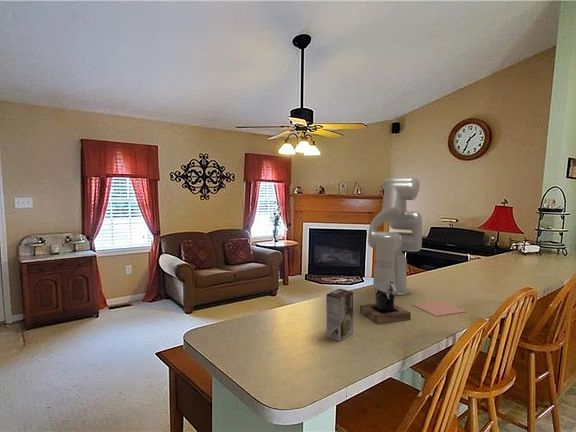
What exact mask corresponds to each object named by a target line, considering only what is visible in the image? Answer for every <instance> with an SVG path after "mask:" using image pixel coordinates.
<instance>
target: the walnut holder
mask: <svg viewBox="0 0 576 432" xmlns="http://www.w3.org/2000/svg"><path fill="white" fill-rule="evenodd" d="M359 313H360V314H362V315H363V316H365V317H367V318H368V319H369V320H371V321H373V322H374V323H376V324H377V325H384V324H389V323H390V324H391V323H398V322H406V321H411V319H412V318H411V317H412V315H411V314H412V313H411V311H408V310H406V309H404V308H402V307H400V306H398V305H396V304H394V307H393V312H390V313H382V314H381V313H379V312H378V311H376V303H369V304H368V303H367V304H362V305H361V304H360V305H359Z"/></svg>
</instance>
